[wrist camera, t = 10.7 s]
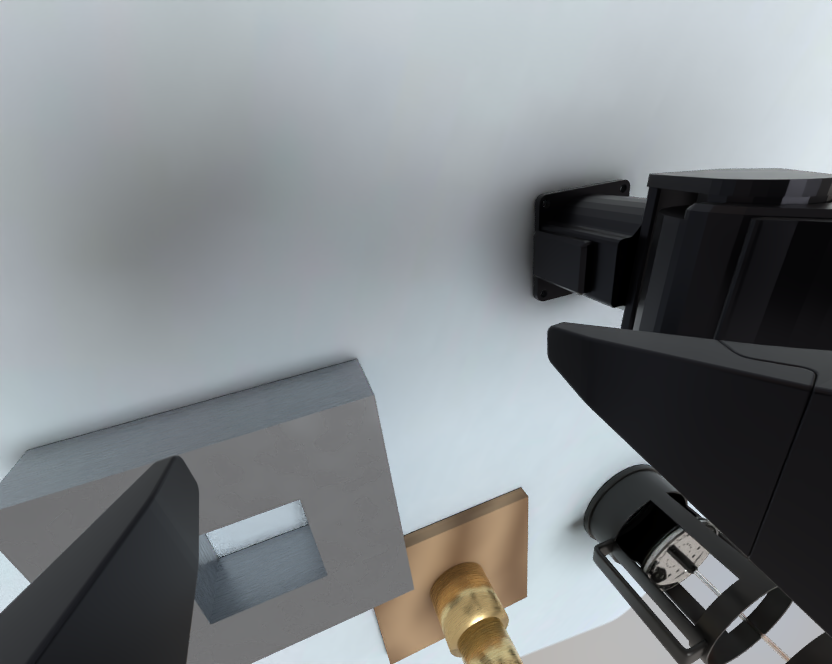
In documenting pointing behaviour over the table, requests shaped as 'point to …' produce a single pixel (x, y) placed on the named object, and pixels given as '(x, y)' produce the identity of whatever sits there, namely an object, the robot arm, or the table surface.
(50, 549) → the plate
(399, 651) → the board
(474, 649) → the knob
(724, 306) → the robot arm
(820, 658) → the french press
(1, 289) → the table surface
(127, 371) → the table surface
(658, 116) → the table surface
